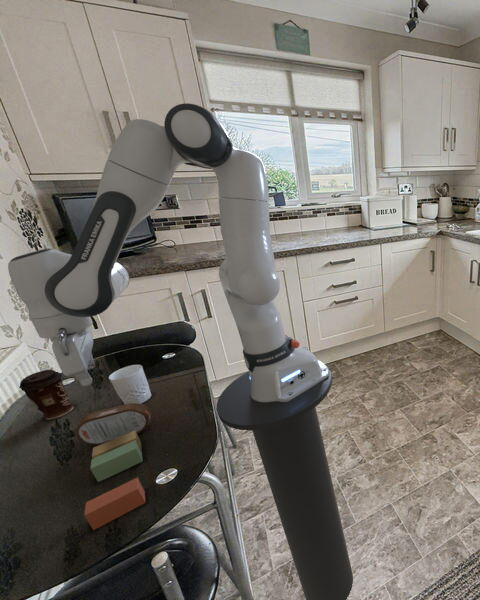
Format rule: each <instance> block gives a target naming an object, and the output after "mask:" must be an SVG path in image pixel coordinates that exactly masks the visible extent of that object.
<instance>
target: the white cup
mask: <svg viewBox="0 0 480 600" xmlns="http://www.w3.org/2000/svg"><path fill="white" fill-rule="evenodd" d="M108 380H109V382H110V383H111V385H112V387H113V389H114V391H115V392H116V394H117V396H118V397H119V399H120V400H121V402H122V403H123V405H125V404H130V403H138V404H143V403H146V402H147V401H149V399H151V397H152V393H151V389H150V385H149V382H148V379H147V376H146V374H145V370H144V367H143V365H141V364H132V365H127V366H124V367H122V368H119V369H118V370H115V371H114V372H112V373H111V374H110V375H109V376H108Z"/></svg>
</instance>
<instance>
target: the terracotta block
mask: <svg viewBox="0 0 480 600" xmlns="http://www.w3.org/2000/svg"><path fill="white" fill-rule="evenodd" d="M144 504H146V491H145V489H144V487H143V486H142V483H141V481H140V479H139V477H135V478H133V479H131V480H129V481H127V482H125V483H123V484H121V485H119V486H117V487H115V488H113V489H110V490H109V491H107V492H104V493H102V494H101V495H98V496H96V497H94V498H92V499H90V500H88V501H86V502H85V507H84V515H83V516H84V518H85V519H86V522H88V524H89V525H90V527H91V529H92V531H96V530H97V529H99V528H101V527H103V526H105V525H107V524H108V523H110V522H112V521H114V520H116V519H118V518H120V517H121V516H123V515H125V514H127V513H129V512H131V511H133V510H135V509H137V508H139V507H140V506H143V505H144Z"/></svg>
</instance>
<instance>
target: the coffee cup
mask: <svg viewBox="0 0 480 600" xmlns="http://www.w3.org/2000/svg"><path fill="white" fill-rule="evenodd" d="M62 377H63V373H62V372H59V371H56V370H54V369H45V370H40V371H36V372H34V373H31V374H29V375H27V376H26V377H24V378H22V379H21V380H20V382H19V386H18V388H19V389H20V390H21V391H22V392H24V393H25V396H26V397H27V398H28V399H29V401H30V402H31V403H32V404H33V406H34V407H35V408H36V410H38V411H39V412H41V413H42V414H43V418H44V419H45V420H53V419H58V418H61V417H63V416H65V415H67V414H68V413H70V412H71V411H73V409H74V407H75V406H74V404H73V403H72V402H71V399H70V397H69V395H68V393H67V390H66V388H65V384H64V383H63V380H62Z"/></svg>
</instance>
